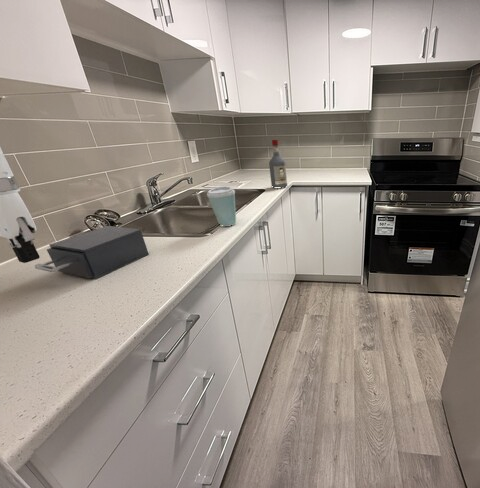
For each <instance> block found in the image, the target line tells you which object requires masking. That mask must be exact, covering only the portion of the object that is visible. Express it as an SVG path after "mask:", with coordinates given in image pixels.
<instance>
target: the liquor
mask: <svg viewBox="0 0 480 488" xmlns="http://www.w3.org/2000/svg"><path fill="white" fill-rule="evenodd" d="M271 144H272V152H273V154H272V155H273V156H272V157H271V158H270V160H269V163H268V167H269V174H270V175H269V176H270V184H271V187H272V186H273V187H286V186H287V187H288V179H287V167H286V165H287V164H286V161H285V159H283V158H282V156H281V155H280V150H279V149H280V148H279V140H278V139H271ZM287 187H286V188H287Z"/></svg>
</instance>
